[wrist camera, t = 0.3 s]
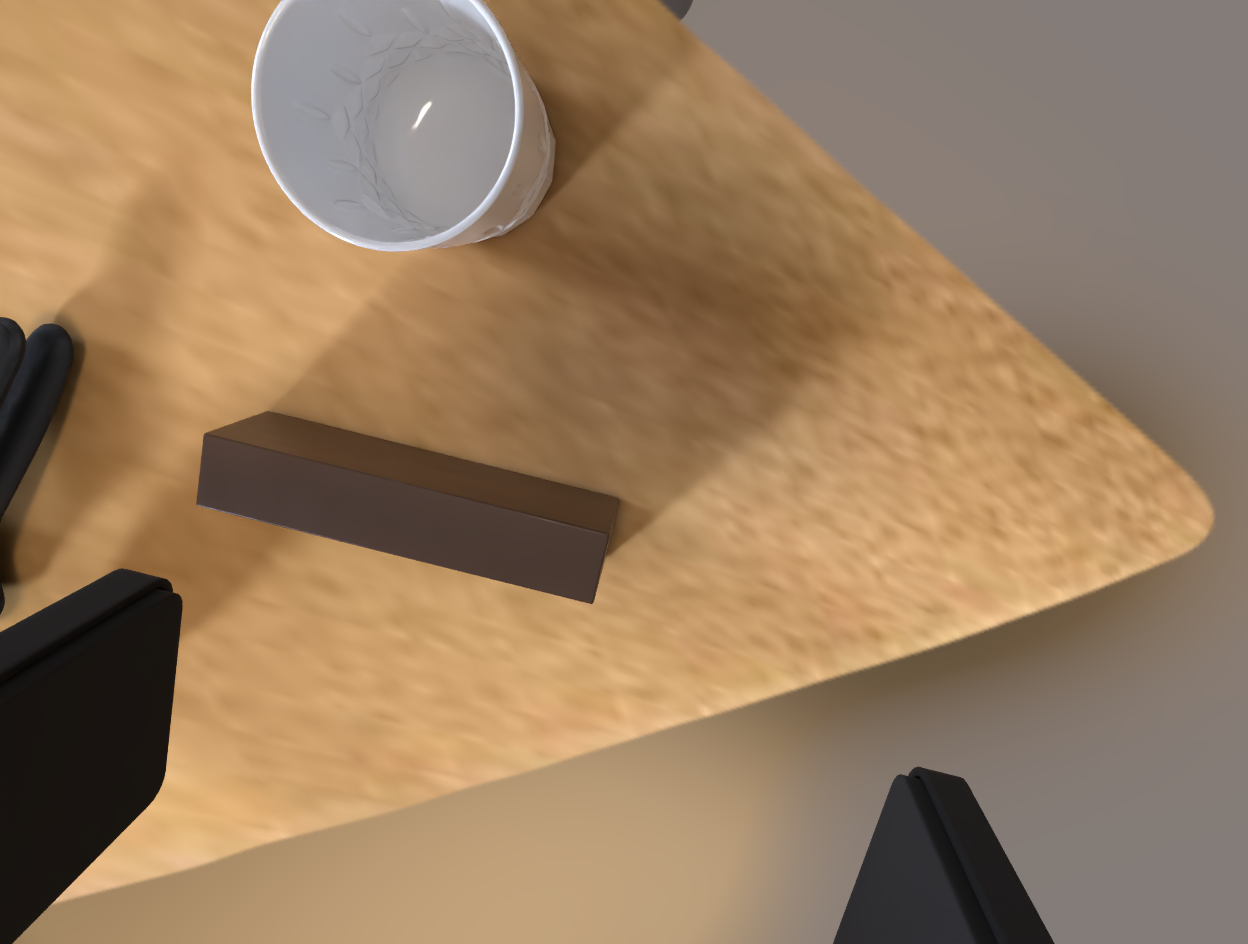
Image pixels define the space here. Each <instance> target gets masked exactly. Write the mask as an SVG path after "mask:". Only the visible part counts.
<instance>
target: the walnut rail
mask: <svg viewBox="0 0 1248 944" xmlns="http://www.w3.org/2000/svg"><path fill="white" fill-rule="evenodd" d="M619 501H620V500H619V498H616V497H612V496H608V495H604V494H600V493H596V492H592V491H588V490H584V489H580V488H576V487H572V486H568V485H564V484H560V483H556V482H552V481H548V480H544V479H540V478H535V477H531V476H527V475H523V474H519V473H515V472H511V471H507V470H503V469H499V468H495V467H491V466H487V465H483V464H479V463H475V462H471V461H467V460H463V459H459V458H455V457H451V456H447V455H443V454H439V453H435V452H431V451H427V450H423V449H419V448H415V447H410V446H406V445H402V444H398V443H394V442H390V441H386V440H382V439H378V438H374V437H370V436H366V435H362V434H358V433H354V432H350V431H346V430H342V429H338V428H334V427H330V426H326V425H322V424H318V423H314V422H310V421H306V420H302V419H298V418H294V417H290V416H285V415H281V414H277V413H273V412H269V411H267V412H264V413H261V414H258V415H255V416H252V417H250V418H247V419H244V420H241V421H238V422H235V423H233V424H230V425H227V426H224V427H221V428H218V429H216V430H213V431H210V432H207V433H205V434H204V438H203V448H202V457H201V467H200V476H199V486H198V495H197V506H201V507H205V508H209V509H213V510H217V511H221V512H225V513H229V514H233V515H237V516H241V517H245V518H249V519H253V520H257V521H261V522H265V523H269V524H273V525H277V526H281V527H285V528H289V529H293V530H297V531H301V532H305V533H309V534H313V535H317V536H321V537H325V538H329V539H333V540H337V541H341V542H345V543H349V544H353V545H357V546H361V547H365V548H369V549H373V550H377V551H381V552H385V553H389V554H393V555H397V556H401V557H405V558H409V559H413V560H417V561H421V562H425V563H429V564H433V565H437V566H441V567H445V568H449V569H453V570H457V571H461V572H465V573H469V574H473V575H477V576H481V577H485V578H489V579H493V580H497V581H501V582H505V583H509V584H513V585H517V586H521V587H525V588H530V589H534V590H538V591H542V592H546V593H550V594H554V595H558V596H562V597H566V598H570V599H574V600H578V601H582V602H586V603H590V604H593V602H594V599H595V595H596V591H597V588H598V584H599V580H600V576H601V573H602V569H603V565H604V561H605V558H606V554H607V549H608V545H609V541H610V537H611V533H612V529H613V525H614V521H615V517H616V513H617V509H618V505H619Z"/></svg>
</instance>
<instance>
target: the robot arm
mask: <svg viewBox="0 0 1248 944" xmlns="http://www.w3.org/2000/svg"><path fill="white" fill-rule="evenodd" d="M181 617H182V599H181V596H180V595H179V594H176V593H173V588H172V585H171V583H170V582H169V581H168V580H167V579H164V578H160V577H156V576H152V575H148V574H144V573H140V572H136V571H132V570H128V569H122V568H121V569H118V570H115V571H113V572H111V573H109V574H108V575H106V576H104V577H102V578H100V579H98V580H96V581H95V582H93V583H91V584H89V585H87V586H85V587H83V588H82V589H80V590H78V591H76V592H74V593H72V594H70V595H69V596H67V597H65V598H63V599H61V600H59V601H57V602H56V603H54V604H52V605H50V606H48V607H46V608H44V609H43V610H41V611H39V612H37V613H35V614H33V615H31V616H30V617H28V618H26V619H24V620H22V621H20V622H18V623H17V624H15V625H13V626H11V627H9V628H7V629H5V630H4V631H2V632H0V944H12V943H13V942H14V941H15V940H16V939H17V938H18V937H19V936H20V935H21V934H22V933H23V932H24V931H25V930H26V929H27V928H28V927H29V926H30V925H31V924H32V923H33V922H34V921H35V920H36V919H37V918H38V917H39V916H40V915H41V914H42V913H43V912H44V911H45V910H46V909H47V908H48V907H49V906H50V905H51V904H52V903H53V902H54V901H55V900H56V899H57V898H58V897H59V896H60V895H61V894H62V893H63V892H64V891H65V890H66V889H67V888H68V887H69V886H70V885H71V884H72V883H73V882H74V881H75V880H76V879H77V878H78V877H79V876H80V875H81V874H82V873H83V871H84V870H85V869H86V868H87V867H88V866H89V865H90V864H91V863H92V862H93V861H94V860H95V859H96V858H97V857H98V856H99V855H100V854H101V853H102V852H103V851H104V850H105V849H106V848H107V847H108V846H109V845H110V844H111V843H112V842H113V841H114V840H115V839H116V838H117V837H118V836H119V835H120V834H121V833H122V832H123V831H124V830H125V829H126V828H127V827H128V826H129V825H130V824H131V823H132V822H133V821H134V820H135V819H136V818H137V817H138V816H139V815H140V814H141V813H142V812H143V811H144V810H145V809H146V808H147V807H148V806H149V805H150V803H151V802H152V801H153V800H154V798H155V797H156V795H157V794H158V792H159V790H160V788H161V786H162V783H163V780H164V777H165V772H166V763H167V753H168V743H169V734H170V724H171V714H172V704H173V695H174V685H175V675H176V666H177V656H178V646H179V636H180V627H181ZM833 944H1054V942H1053V940H1052V938H1051V936H1050V934H1049V933H1048V931H1047V929H1046V927H1045V925H1044V924H1043V922H1042V920H1041V918H1040V916H1039V914H1038V913H1037V911H1036V909H1035V907H1034V905H1033V903H1032V901H1031V900H1030V898H1029V896H1028V894H1027V892H1026V890H1025V889H1024V887H1023V885H1022V883H1021V881H1020V879H1019V878H1018V876H1017V874H1016V872H1015V871H1014V868H1013V867H1012V865H1011V863H1010V861H1009V859H1008V857H1007V856H1006V854H1005V852H1004V850H1003V848H1002V846H1001V844H1000V843H999V841H998V839H997V837H996V836H995V833H994V832H993V830H992V828H991V826H990V824H989V823H988V821H987V819H986V817H985V815H984V813H983V811H982V810H981V808H980V806H979V804H978V802H977V800H976V799H975V797H974V795H973V793H972V791H971V789H970V788H969V786H968V784H967V782H965V780H964V779H963V778H961V777H957V776H953V775H949V774H945V773H941V772H937V771H933V770H929V769H925V768H921V767H916V768H914V769H913V770H912V771H911V772H910V773H909V775H908V776H905V775H901V774H900V775H898V776H897V777H896V778H895V779H894V781H893V783H892V785H891V788H890V791H889V794H888V796H887V799H886V801H885V804H884V807H883V810H882V812H881V815H880V818H879V820H878V823H877V826H876V828H875V831H874V834H873V837H872V839H871V842H870V845H869V847H868V850H867V853H866V856H865V858H864V861H863V864H862V866H861V869H860V872H859V875H858V878H857V880H856V883H855V885H854V888H853V891H852V893H851V896H850V899H849V901H848V904H847V907H846V910H845V912H844V915H843V918H842V921H841V923H840V926H839V929H838V931H837V934H836V937H835V940H834V943H833Z"/></svg>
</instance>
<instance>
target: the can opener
mask: <svg viewBox="0 0 1248 944" xmlns="http://www.w3.org/2000/svg"><path fill="white" fill-rule="evenodd" d="M72 359H73V344H72V340H71V338H70V336H69V334H68V333H67V332H66V330H64V329H63V328H62V327H61V326H59V325H56V324H43V325H41V326H40V327H38V328H37V329H36V330H35V331H34V332H33V333H32V334H31V335H30V336H29V337H28V339H27V340H26V339H25V335H24V332H23V330H22V329H21V328H20V326H19V325H18V324H17V323H16V322H15V321H13V320H12V319H8V318H3V317H0V522H1V519H2V517H3V515H4V513H5V511H6V509H7V507H8V505H9V503H10V501H11V499H12V497H13V496H14V494H15V492H16V490H17V488H18V486H19V484H20V482H21V480H22V478H23V476H24V475H25V473H26V471H27V469H28V467H29V465H30V463H31V461H32V459H33V457H34V455H35V453H36V451H37V449H38V447H39V445H40V443H41V441H42V439H43V437H44V435H45V432H46V430H47V428H48V426H49V423H50V421H51V419H52V416H53V414H54V412H55V409H56V407H57V404H58V401H59V399H60V396H61V393H62V391H63V388H64V385H65V382H66V379H67V376H68V373H69V369H70V366H71V363H72ZM4 604H5V597H4V592H3V588H2V585H1V582H0V614H1V613H2V611H3V608H4Z"/></svg>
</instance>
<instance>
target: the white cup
mask: <svg viewBox="0 0 1248 944" xmlns="http://www.w3.org/2000/svg"><path fill="white" fill-rule="evenodd" d="M251 98H252V112H253V119H254V125H255V129H256V133H257V137H258V141H259V144H260V147H261V150H262V152H263V155H264V157H265V160H266V162H267V164H268V166H269V168H270V170H271V172H272V174H273V176H274V177H275V179H276V181H277V182H278V184H279V185H280V187H281V188H282V190H283V191H284V192H285V194H286V195H287V196H288V198H289V199H290V200H291V201H292V202H293V203H294V205H295V206H296V207H297V208H298V209H299V210H300V211H301V212H302V213H303V214H304V215H306V216H307V217H308V218H309V219H310V220H311V221H313V222H314V223H315V224H317V225H318V226H319V227H321V228H322V229H324V230H325V231H327V232H329V233H330V234H332V235H334V236H336V237H338V238H340V239H342V240H344V241H347V242H349V243H352V244H354V245H358V246H361V247H365V248H369V249H374V250H380V251H412V250H422V249H432V248H447V247H454V246H459V245H465V244H470V243H475V242H479V241H483V240H486V239H488V238H491V237H499V236H503V235H505V234H506V233H508V232H509V231H511V230H512V229H514V228H515V227H517V226H518V225H520V224H521V223H523V222H524V221H525V220H527V219H528V218H530V217H531V216H533V215H534V213H535V211H536V209H537V208H538V206H539V204H540V202H541V201H542V199H543V197H544V196H545V194H546V192H547V190H548V189H549V187H550V185H551V183H552V180H553V169H554V158H555V147H556V140H555V137H554V134H553V131H552V128H551V125H550V123H549V120H548V117H547V114H546V110H545V107H544V104H543V101H542V99H541V97H540V95H539V92H538V90H537V88H536V86H535V84H534V82H533V81H532V79H531V76H530V74H529V72H528V71H527V69H526V67H525V65H524V64H523V62H522V60H521V59H520V57H519V55H518V54H517V52H516V51H515V49H514V47H513V46H512V44H511V42H510V40H509V39H508V37H507V35H506V34H505V32H504V30H503V28H502V27H501V25H500V23H499V22H498V20H497V19H496V17H495V16H494V14H493V13H492V11H491V10H490V9H489V8H488V6H487V5H486V4H485V3H484V2H483V0H282V1H281V2H280V3H279V5H278V6H277V8H276V9H275V11H274V12H273V14H272V16H271V17H270V19H269V21H268V23H267V25H266V27H265V29H264V32H263V34H262V37H261V39H260V42H259V45H258V49H257V52H256V56H255V61H254V67H253V74H252V87H251Z"/></svg>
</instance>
